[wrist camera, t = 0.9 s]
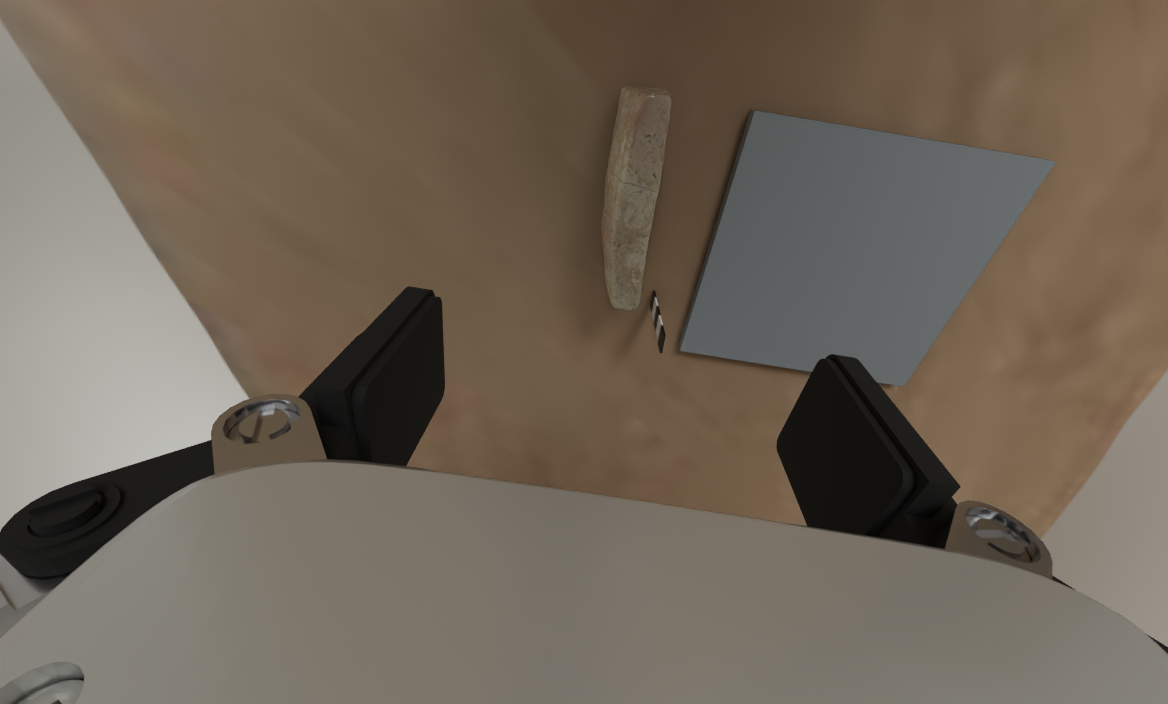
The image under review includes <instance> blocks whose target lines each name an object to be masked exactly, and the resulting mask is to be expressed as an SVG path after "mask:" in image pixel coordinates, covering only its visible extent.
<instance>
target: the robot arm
mask: <svg viewBox="0 0 1168 704" xmlns="http://www.w3.org/2000/svg"><path fill="white" fill-rule="evenodd" d="M444 390H445V374H444V346H443V319H442V301H441V298H440V297H435V295H434V292H433V291H432V290H428V289H421V288H415V287H407V288H405V289H404V290H403V291H402V292H401V294H400V295H399V296H398V297H397V298H396V299H395V300H394V301H393V302H392V303H391V304H390V305H389V306H388V307H387V308H386V309H385V310H384V311H383V312H382V313H381V314H380V315H379V316H378V317H377V318H376V319H375V320H374V322H373V323H372V324H371V325H370V326H369V327H368V328H367V329H366V330H365V331H364V332H363V333H361V334H360V335H358V336H357V337H356V338H355V339H354V340H353V341H352V342H351V343H350V344H349V345H348V346H347V347H346V348H345V349H344V350H343V351H342V352H341V353H340V354H339V356H338V357H337V358H336V359H335V360H334V361H333V362H332V363H331V364H330V365H329V366H328V367H327V368H326V369H325V370H324V371H323V372H322V373H321V374H320V375H319V376H318V377H317V378H316V379H315V380H314V381H313V382H312V383H311V384H310V385H309V386H308V387H307V388H306V389H305V390H304V392H303V393H302V394H301V395H300V396H299V397H296V396H292V395H287V394H270V395H264V396H258V397H255V398H252V399H248V400H245V401H243V402H241V403H239V404H237V405H235V406H233V407H231V408H229V409H228V410H227V411H225V412H224V413H223V414H221V415H220V416H219V418H218V419H217V420H216V421H215V423H214V424H213V428H212V432H211V438H212V440H210V441H207V442H204V443H201V444H198V445H194V446H191V447H188V448H185V449H181V450H178V451H175V452H172V453H168V454H165V455H162V456H159V457H155V458H152V459H149V460H146V461H143V462H140V463H137V464H133V465H130V466H127V467H123V468H120V469H117V470H114V471H111V472H108V473H104V474H101V475H98V476H95V477H91V478H88V479H85V480H82V481H79V482H75V483H72V484H70V485H67V486H64V487H62V488H59V489H57V490H54V491H51V492H49V493H48V494H46V495H44V496H42V497H40V498H39V499H36V500H35V501H33V502H31V503H30V504H28V505H27V506H26V507H24V508H23V509H21V510H20V511H19V512H17V513H16V514H15V515H14V516H13V517H12V518H11V519H10V520H9V521H8V522H7V523H6V525H5V526H4V527H3V528H2V529H1V532H0V704H1168V647H1166V646H1165V645H1163V644H1162V643H1160V642H1158V641H1157V640H1155V639H1154V638H1152V637H1150V636H1149V635H1147V634H1145V633H1144V632H1143V631H1142V630H1141V629H1140V628H1138V627H1137V626H1136V625H1134V624H1133V623H1132V622H1131V621H1129V620H1128V619H1126V618H1125V617H1123V616H1122V615H1120V614H1119V613H1117V612H1115V611H1113V610H1111V609H1110V608H1108V607H1106V606H1105V605H1103V604H1101V603H1099V602H1098V601H1096V600H1094V599H1092V598H1090V597H1088V596H1086V595H1084V594H1082V593H1080V592H1078V591H1076V590H1075V589H1073V588H1072V587H1070V586H1068V585H1067V584H1065V583H1063V582H1062V581H1060V580H1058V579H1057V578H1056V577H1054V576H1052V566H1053V565H1052V558H1051V554H1050V552H1049V550H1048V549H1047V547H1046V546H1045V544H1044V543H1043V541H1042V540H1041V539H1040V538H1039V537H1038V536H1037V535H1036V534H1035V533H1034V532H1033V531H1032V530H1031V529H1029V528H1028V527H1027V526H1026V525H1024V524H1023V523H1022V522H1021V521H1019V520H1018V519H1016V518H1014V517H1013V516H1011V515H1010V514H1008V513H1006V512H1005V511H1003V510H1000V509H998V508H996V507H994V506H992V505H989V504H986V503H982V502H979V501H970V500H967V501H963V502H960V503H959V504H958V505H957V503H956V502H955V501H954V499H953V498H952V496H953V495H954V494H955V492H956V491H957V490H958V489H959V488H960V485H959V484H958V483H957V482H956V480H955V479H954V478H953V477H952V475H951V474H950V473H949V472H948V470H947V469H946V468H945V467H944V465H943V464H942V463H941V462H940V460H939V459H938V458H937V457H936V455H935V454H934V453H933V452H932V450H931V449H930V448H929V447H928V445H927V444H926V443H925V442H924V440H923V439H922V438H921V437H920V436H919V434H918V433H917V432H916V431H915V429H914V428H913V427H912V426H911V424H910V423H909V422H908V421H907V419H906V418H905V417H904V416H903V414H902V413H901V412H900V411H899V409H898V408H897V407H896V406H895V404H894V403H893V402H892V401H891V399H890V398H889V397H888V396H887V394H886V393H885V392H884V391H883V389H882V388H881V387H880V386H879V385H878V383H877V382H876V381H875V380H874V378H873V377H872V376H871V375H870V373H869V372H868V371H867V370H866V368H865V367H864V366H863V365H862V363H861V362H860V361H859V360H858V359H857V358H854V357H847V356H841V355H835V354H830V355H828V356H827V357H826V358H825V359H823V358H822V359H820V360H819V361H818V362H817V364H816V366H815V367H814V369H813V371H812V373H811V375H810V377H809V379H808V381H807V383H806V385H805V387H804V389H803V390H802V392H801V394H800V396H799V398H798V400H797V402H796V404H795V406H794V408H793V410H792V412H791V413H790V415H789V417H788V419H787V421H786V423H785V425H784V427H783V429H782V431H781V433H780V435H779V437H778V439H777V452H778V454H779V457H780V459H781V462H782V464H783V467H784V469H785V472H786V474H787V477H788V479H789V482H790V484H791V487H792V489H793V491H794V494H795V496H796V499H797V501H798V504H799V506H800V509H801V511H802V514H803V516H804V519H805V521H806V524H807V526H801V525H795V524H789V523H782V522H776V521H770V520H763V519H757V518H750V517H744V516H737V515H731V514H725V513H718V512H711V511H705V510H698V509H692V508H685V507H679V506H672V505H666V504H659V503H653V502H646V501H639V500H633V499H626V498H620V497H613V496H606V495H600V494H593V493H587V492H580V491H573V490H566V489H560V488H553V487H546V486H539V485H532V484H526V483H519V482H512V481H505V480H498V479H492V478H485V477H478V476H471V475H464V474H458V473H451V472H444V471H437V470H430V469H424V468H416V467H407V466H406V465H407V463H408V461H409V460H410V458H411V456H412V454H413V452H414V450H415V448H416V447H417V445H418V443H419V441H420V439H421V437H422V435H423V434H424V432H425V430H426V428H427V426H428V424H429V422H430V420H431V419H432V417H433V415H434V413H435V411H436V409H437V407H438V406H439V404H440V402H441V400H442V398H443V395H444Z"/></svg>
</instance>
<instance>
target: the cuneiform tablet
mask: <svg viewBox="0 0 1168 704" xmlns="http://www.w3.org/2000/svg"><path fill="white" fill-rule="evenodd" d="M671 100H672V97H671V94H670V93H669V92H668V91H666V90H663V89H658V88H653V87H646V86H633V85H626V86H624V87H623V88H622V89H621V92H620V96H619V103H618V109H617V116H616V122H615V127H614V132H613V138H612V144H611V149H610V154H609V161H608V166H607V172H606V181H605V192H604V207H603V213H602V224H601V238H602V246H603V259H604V262H605V263H604V274H605V283H606V286H607V291H608V295H609V299H610V302H611V305H612V306H613V308H615V309H623V310H625V311H632V310H635V309H637V308H638V306H639V305H640V301H641V295H642V290H643V282H644V272H645V262H646V257H647V250H648V245H649V237H650V233H651V228H652V224H653V219H654V213H655V205H656V200H657V196H658V193H659V189H660V180H661V174H662V166H663V161H664V157H665V142H666V138H667V132H668V129H669V121H670V110H671ZM650 307H651V312H652V317H653V322H654V327H655V332H656V336H657V341H658V346H659V351H660V353H662V351H663V346H664V341H665V336H666V335H665V331H664V327H663V323H662V318H661V314H660V310H659V306H658V302H657V297H656V293H655V291H654V290H653V294H652V300H651V305H650Z"/></svg>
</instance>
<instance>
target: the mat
mask: <svg viewBox="0 0 1168 704" xmlns="http://www.w3.org/2000/svg"><path fill="white" fill-rule="evenodd" d="M1055 163H1056V162H1055V161H1050V160H1046V159H1041V158H1035V157H1029V156H1023V155H1017V154H1011V153H1005V152H1000V151H994V150H988V149H982V148H976V147H970V146H964V145H958V144H952V143H946V142H940V141H935V140H929V139H923V138H917V137H911V136H905V135H899V134H893V133H887V132H881V131H875V130H869V129H864V128H858V127H852V126H846V125H840V124H834V123H828V122H822V121H816V120H810V119H804V118H799V117H793V116H787V115H781V114H775V113H769V112H763V111H757V110H750V113H749V117H748V120H747V123H746V126H745V130H744V133H743V136H742V140H741V143H740V146H739V149H738V153H737V156H736V159H735V162H734V166H733V169H732V172H731V175H730V179H729V182H728V185H727V188H726V192H725V195H724V198H723V201H722V205H721V208H720V211H719V214H718V218H717V221H716V224H715V227H714V231H713V234H712V237H711V241H710V244H709V247H708V250H707V254H706V257H705V260H704V263H703V267H702V270H701V273H700V276H699V280H698V283H697V286H696V289H695V293H694V296H693V299H692V302H691V306H690V309H689V312H688V315H687V319H686V322H685V325H684V328H683V332H682V335H681V338H680V342H679V349H680V351H683V352H689V353H695V354H702V355H708V356H714V357H721V358H727V359H733V360H740V361H746V362H752V363H758V364H765V365H771V366H777V367H784V368H790V369H796V370H803V371H809V372H812V371H813V369H814V367H815V366H816V364H817V362H818V361H819V360H820V359H822V358H823V359H825V358H826V357H827V356H828V355H830V354H835V355H841V356H847V357H854V358H857V359H858V360H859V361H860V362H861V363H862V365H863V366H864V367H865V368H866V370H867V371H868V372H869V373H870V375H871V376H872V377H873V378H874V380H875V381H876V382H878V383H884V384H891V385H897V386H903V387H904V385H905V384H906V382H907V381H908V379H909V378H910V376H911V375H912V374H913V372H914V371H915V369H916V368H917V366H918V365H919V363H920V362H921V360H922V359H923V357H924V356H925V354H926V353H927V351H928V350H929V348H930V347H931V346H932V344H933V343H934V341H935V340H936V338H937V337H938V335H939V334H940V332H941V331H942V329H943V328H944V326H945V325H946V323H947V322H948V321H949V319H950V318H951V316H952V315H953V313H954V312H955V310H956V309H957V307H958V306H959V304H960V303H961V301H962V300H963V298H964V297H965V295H966V294H967V293H968V291H969V290H970V288H971V287H972V285H973V284H974V282H975V281H976V279H977V278H978V276H979V275H980V273H981V272H982V270H983V269H984V267H985V266H986V265H987V263H988V262H989V260H990V259H991V257H992V256H993V254H994V253H995V251H996V250H997V248H998V247H999V245H1000V244H1001V242H1002V241H1003V239H1004V238H1005V237H1006V235H1007V234H1008V232H1009V231H1010V229H1011V228H1012V226H1013V225H1014V223H1015V222H1016V220H1017V219H1018V217H1019V216H1020V214H1021V213H1022V211H1023V210H1024V209H1025V207H1026V206H1027V204H1028V203H1029V201H1030V200H1031V198H1032V197H1033V195H1034V194H1035V192H1036V191H1037V189H1038V188H1039V186H1040V185H1041V183H1042V182H1043V181H1044V179H1045V178H1046V176H1047V175H1048V173H1049V172H1050V170H1051V169H1052V167H1053V166H1054V164H1055Z"/></svg>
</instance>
